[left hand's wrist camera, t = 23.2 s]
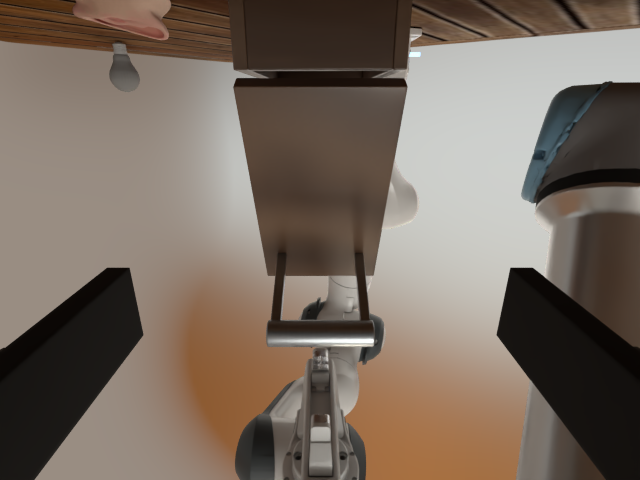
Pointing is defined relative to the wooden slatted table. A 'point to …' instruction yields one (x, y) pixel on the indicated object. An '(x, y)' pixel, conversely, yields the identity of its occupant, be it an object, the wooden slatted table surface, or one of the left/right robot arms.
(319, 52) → the chest
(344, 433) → the right robot arm
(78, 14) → the anatomical model
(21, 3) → the wooden slatted table surface
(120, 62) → the light bulb
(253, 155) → the lid
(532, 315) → the left robot arm
